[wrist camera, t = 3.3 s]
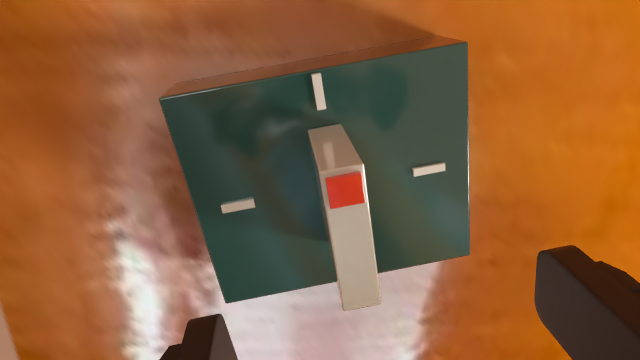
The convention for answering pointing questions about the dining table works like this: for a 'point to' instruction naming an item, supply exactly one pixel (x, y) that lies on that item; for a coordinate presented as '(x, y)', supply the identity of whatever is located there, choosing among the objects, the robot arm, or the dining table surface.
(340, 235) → the tap handle
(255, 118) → the green switch panel
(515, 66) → the dining table surface
